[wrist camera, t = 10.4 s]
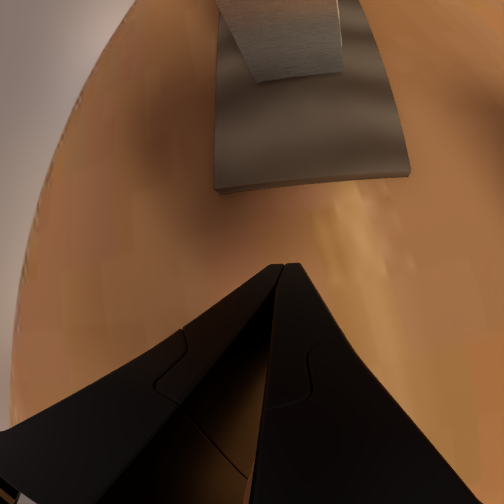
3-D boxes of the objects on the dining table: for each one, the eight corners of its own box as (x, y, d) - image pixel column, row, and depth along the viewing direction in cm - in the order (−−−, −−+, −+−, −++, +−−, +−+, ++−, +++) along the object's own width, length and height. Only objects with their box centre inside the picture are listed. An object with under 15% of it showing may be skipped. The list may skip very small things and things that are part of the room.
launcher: (408, 176, 21) (442, 102, 11) (219, 194, 24) (151, 138, 15) (340, -33, 25) (329, -96, 16) (225, -15, 28) (195, -72, 19)
